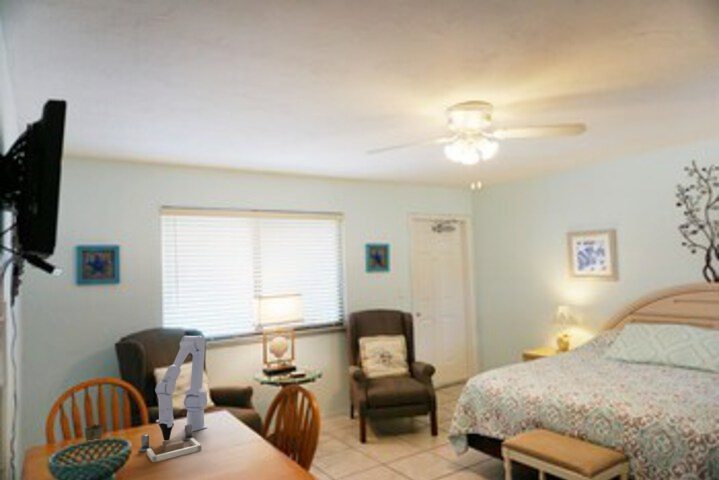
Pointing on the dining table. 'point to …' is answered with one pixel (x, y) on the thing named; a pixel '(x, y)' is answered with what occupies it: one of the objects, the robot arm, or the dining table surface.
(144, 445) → the post
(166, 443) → the walnut block
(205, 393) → the robot arm
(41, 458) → the dining table surface
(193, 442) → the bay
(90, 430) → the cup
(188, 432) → the post
